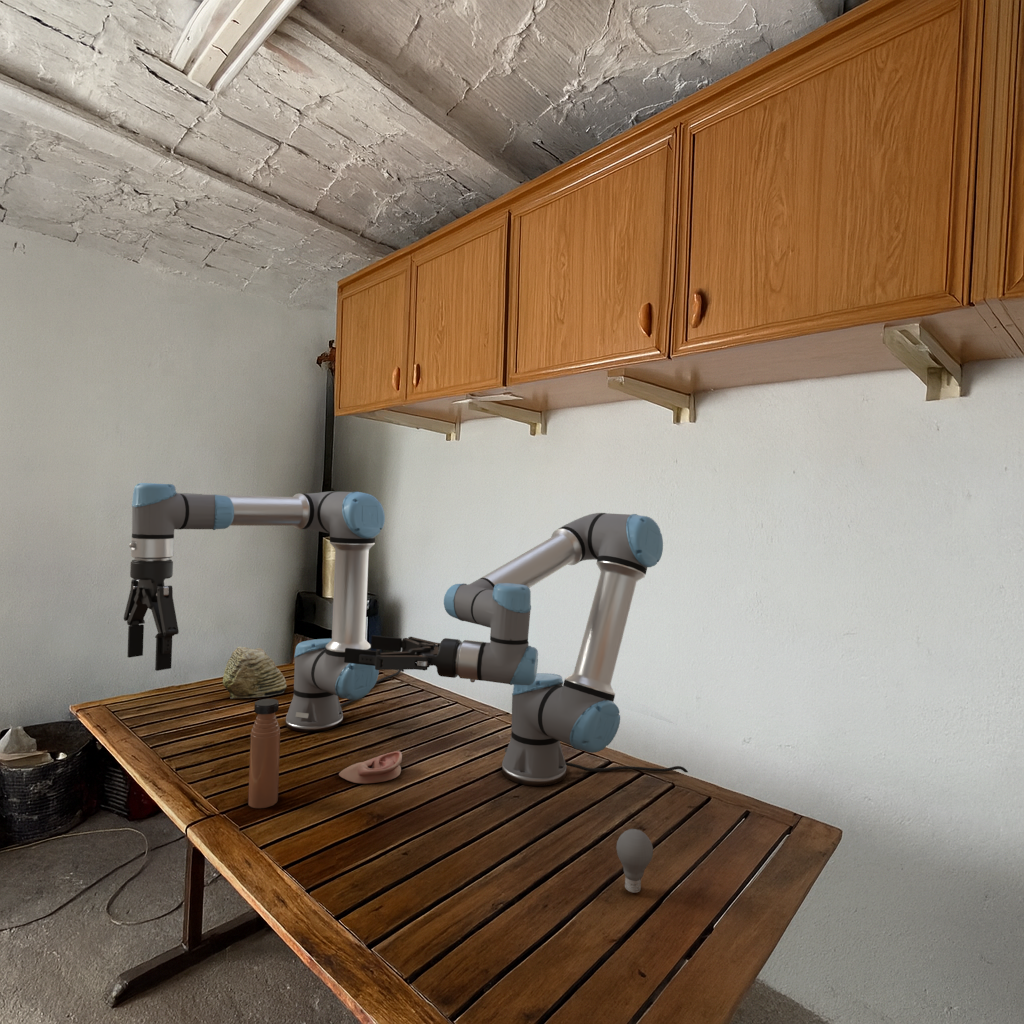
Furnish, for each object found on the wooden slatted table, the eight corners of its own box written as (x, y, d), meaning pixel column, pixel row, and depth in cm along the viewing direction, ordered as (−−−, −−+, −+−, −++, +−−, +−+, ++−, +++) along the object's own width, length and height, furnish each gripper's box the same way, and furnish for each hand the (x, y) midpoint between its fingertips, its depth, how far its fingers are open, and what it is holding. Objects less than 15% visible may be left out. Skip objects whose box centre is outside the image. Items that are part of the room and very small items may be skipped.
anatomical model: (332, 762, 141) (355, 743, 152) (332, 780, 141) (355, 759, 153) (388, 770, 139) (407, 750, 150) (388, 788, 139) (407, 766, 150)
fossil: (218, 695, 195) (220, 647, 195) (278, 685, 208) (279, 640, 207) (228, 703, 189) (230, 653, 188) (289, 692, 201) (290, 645, 201)
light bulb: (610, 879, 108) (613, 822, 108) (644, 879, 109) (647, 822, 109) (619, 902, 102) (622, 840, 102) (655, 901, 103) (658, 840, 103)
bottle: (241, 804, 129) (245, 705, 129) (262, 792, 134) (266, 698, 134) (263, 810, 127) (267, 710, 126) (283, 798, 132) (287, 702, 132)
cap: (249, 712, 129) (249, 703, 129) (266, 705, 133) (266, 697, 133) (266, 716, 127) (267, 707, 127) (283, 709, 132) (283, 700, 131)
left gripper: (108, 554, 134) (104, 654, 134) (159, 565, 118) (155, 678, 119) (146, 552, 140) (143, 648, 140) (199, 563, 124) (195, 671, 124)
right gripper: (441, 694, 114) (331, 681, 117) (472, 663, 139) (380, 653, 142) (444, 653, 114) (333, 641, 117) (474, 629, 139) (382, 620, 142)
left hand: (148, 662), depth 129 cm, fingers open, 13 cm apart
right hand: (359, 648), depth 130 cm, fingers open, 13 cm apart
